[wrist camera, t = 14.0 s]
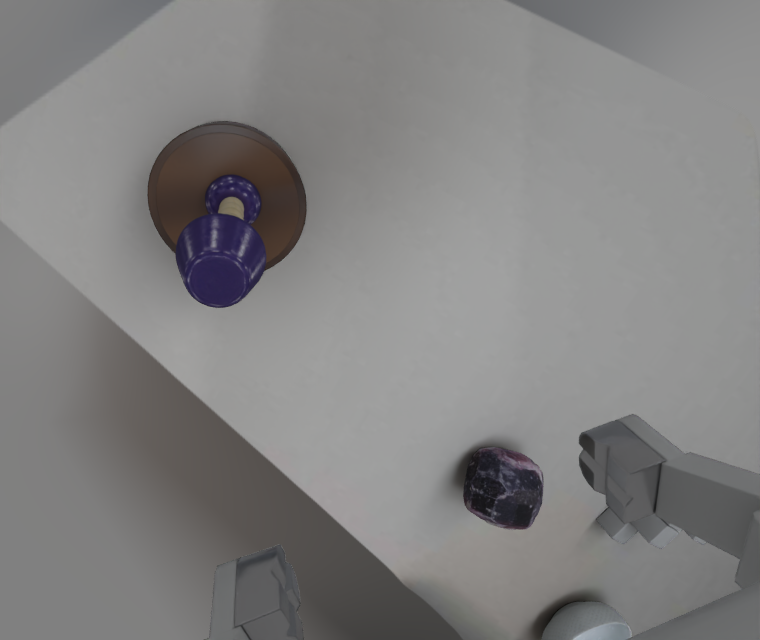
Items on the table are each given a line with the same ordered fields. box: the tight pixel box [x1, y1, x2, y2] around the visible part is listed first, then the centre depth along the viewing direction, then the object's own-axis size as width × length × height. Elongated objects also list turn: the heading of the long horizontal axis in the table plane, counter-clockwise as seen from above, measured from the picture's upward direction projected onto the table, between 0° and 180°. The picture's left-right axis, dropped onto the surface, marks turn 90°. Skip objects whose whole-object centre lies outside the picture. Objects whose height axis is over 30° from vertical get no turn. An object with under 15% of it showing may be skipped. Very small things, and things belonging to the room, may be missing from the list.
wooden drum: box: [148, 121, 306, 271], centre depth 38 cm, size 12×12×5 cm
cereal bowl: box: [541, 601, 632, 640], centre depth 85 cm, size 17×17×7 cm
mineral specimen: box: [463, 447, 543, 530], centre depth 59 cm, size 10×10×10 cm
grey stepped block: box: [597, 508, 707, 549], centre depth 74 cm, size 12×12×8 cm
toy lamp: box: [176, 174, 266, 308], centre depth 28 cm, size 5×5×17 cm
